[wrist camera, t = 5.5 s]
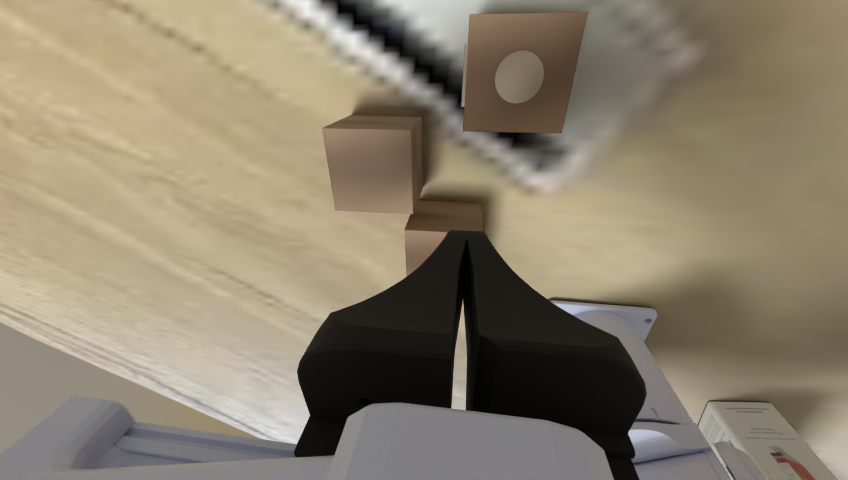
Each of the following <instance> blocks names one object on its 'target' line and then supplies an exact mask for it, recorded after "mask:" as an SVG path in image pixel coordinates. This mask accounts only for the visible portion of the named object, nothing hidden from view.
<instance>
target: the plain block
mask: <svg viewBox="0 0 848 480" xmlns="http://www.w3.org/2000/svg"><path fill="white" fill-rule="evenodd" d="M322 131H323V137H324V143H325V149H326V155H327V161H328V167H329V174H330V180H331V186H332V192H333V198H334V204H335V210H338V211H358V212H377V213H396V214H413V213H414V210H415V207H416V205H417V202H418V199H419V197H420V194H421V191H422V188H423V116H383V115H350V116H348V117H346V118H344V119H341V120H339V121H337V122H335V123H333V124H331V125H328V126H326V127H324V128H322Z"/></svg>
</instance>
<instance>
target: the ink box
mask: <svg viewBox="0 0 848 480" xmlns="http://www.w3.org/2000/svg"><path fill="white" fill-rule="evenodd" d="M698 427H699V429H700V431H701V432H702V434H703V435H704V437H705V439H706V440H707V442H708V443H709V445H710V447H711V448H712V450H713V451H714V453H715V455H716V456H717V458H718V459H719V461H720V463H721V464H722V466H723V467H724V469H725V471H726V472H727V474H728V475H729V477H730V479H731V480H734V479H733V478H732V476H731V475H730V473H729V471H728V470H727V468H726V466H727V465H726V464H725V462H724V461H723V459H722V457H721V456H720V454H719V453H718V451H717V449H716V448H715V446H714V444H713V443H718V442H721V441H725V442H727V443H728V444H729V445H730V446H731V447H735V448H737V449H739V450H741V451H743V452H745V453H747V454H748V456H749V457H750V458H751V459H752V460H753V462H754V463H755V464H756V465H757V467H758V468H759V469H760V471H761V472H762V473H763V475H764V476H765V477H766V479H767V480H838V479H837V478H836V477H835V476H834V474H833V473H832V472H831V471H830V470H829V469H828V468H827V467H826V465H825V464H824V463H823V462H822V461H821V460H820V459H819V457H818V456H817V455H816V454H815V453H814V452H813V451H812V449H811V448H810V447H809V446H808V445H807V444H806V443H805V441H804V440H803V439H802V438H801V437H800V436H799V435H798V434H797V432H796V431H795V430H794V429H793V428H792V427H791V426H790V425H789V423H788V422H787V421H786V420H785V419H784V418H783V416H782V415H781V414H780V413H779V412H778V411H777V410H776V409H775V407H774V406H773V405H772V404H771V403H763V402H708V403H707V406H706V408H705V411H704V413H703V415H702V418H701V420H700V423H699V425H698Z"/></svg>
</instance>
